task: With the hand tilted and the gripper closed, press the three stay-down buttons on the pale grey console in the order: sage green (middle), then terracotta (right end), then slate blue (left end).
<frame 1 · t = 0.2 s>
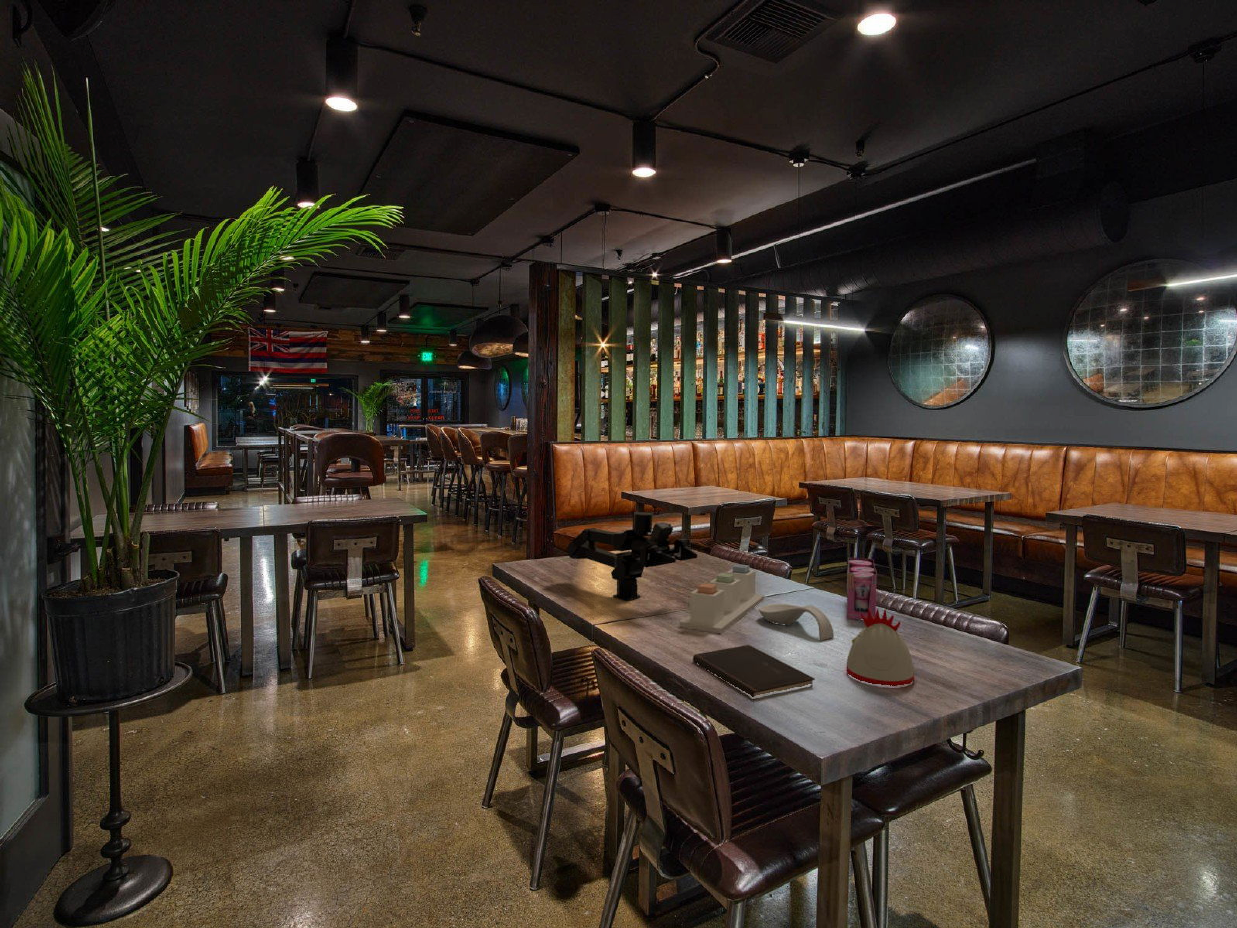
hand: (686, 558, 185), 17 cm above the table, tool horizontal, fingers open, 9 cm apart
button console: (724, 612, 189), on the table
slate blue button: (741, 572, 200), point 9 cm above the table, slide at 0.0 cm
sage green button: (725, 581, 188), point 9 cm above the table, slide at 0.0 cm
gum box: (860, 610, 192), on the table
terracotta button: (707, 592, 176), point 9 cm above the table, slide at 0.0 cm
hardcover book: (750, 676, 143), on the table
tan and red dome: (879, 676, 142), on the table
spoon rest: (795, 628, 176), on the table
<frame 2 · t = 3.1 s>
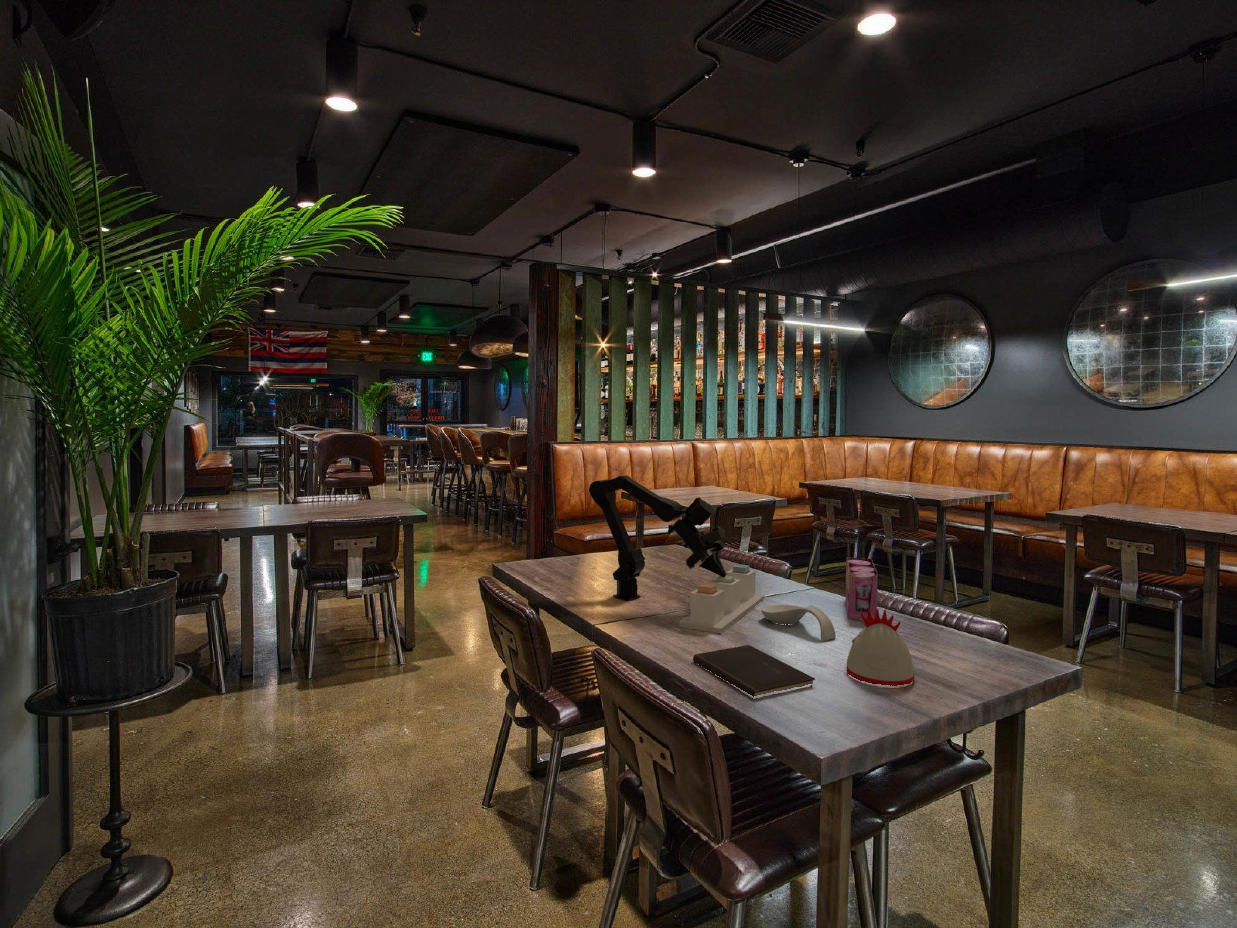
hand: (725, 576, 188), 11 cm above the table, tool tilted 45°, fingers closed, pressing on sage green button
sage green button: (725, 584, 188), point 9 cm above the table, slide at 0.7 cm, touching gripper
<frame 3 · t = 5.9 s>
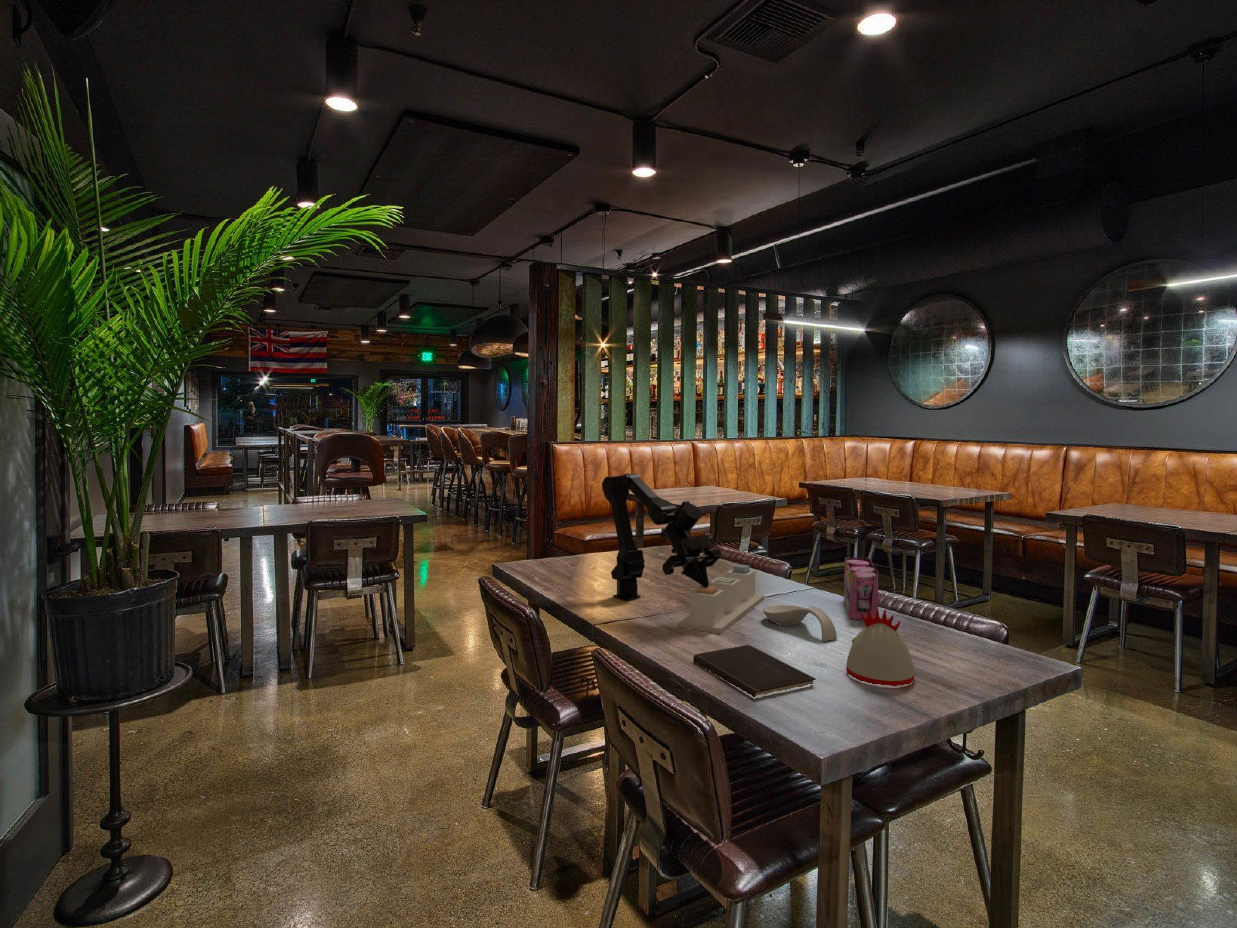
hand: (707, 586, 176), 11 cm above the table, tool tilted 45°, fingers closed, pressing on terracotta button
sage green button: (725, 586, 188), point 8 cm above the table, slide at 1.5 cm
terracotta button: (707, 594, 176), point 9 cm above the table, slide at 0.7 cm, touching gripper
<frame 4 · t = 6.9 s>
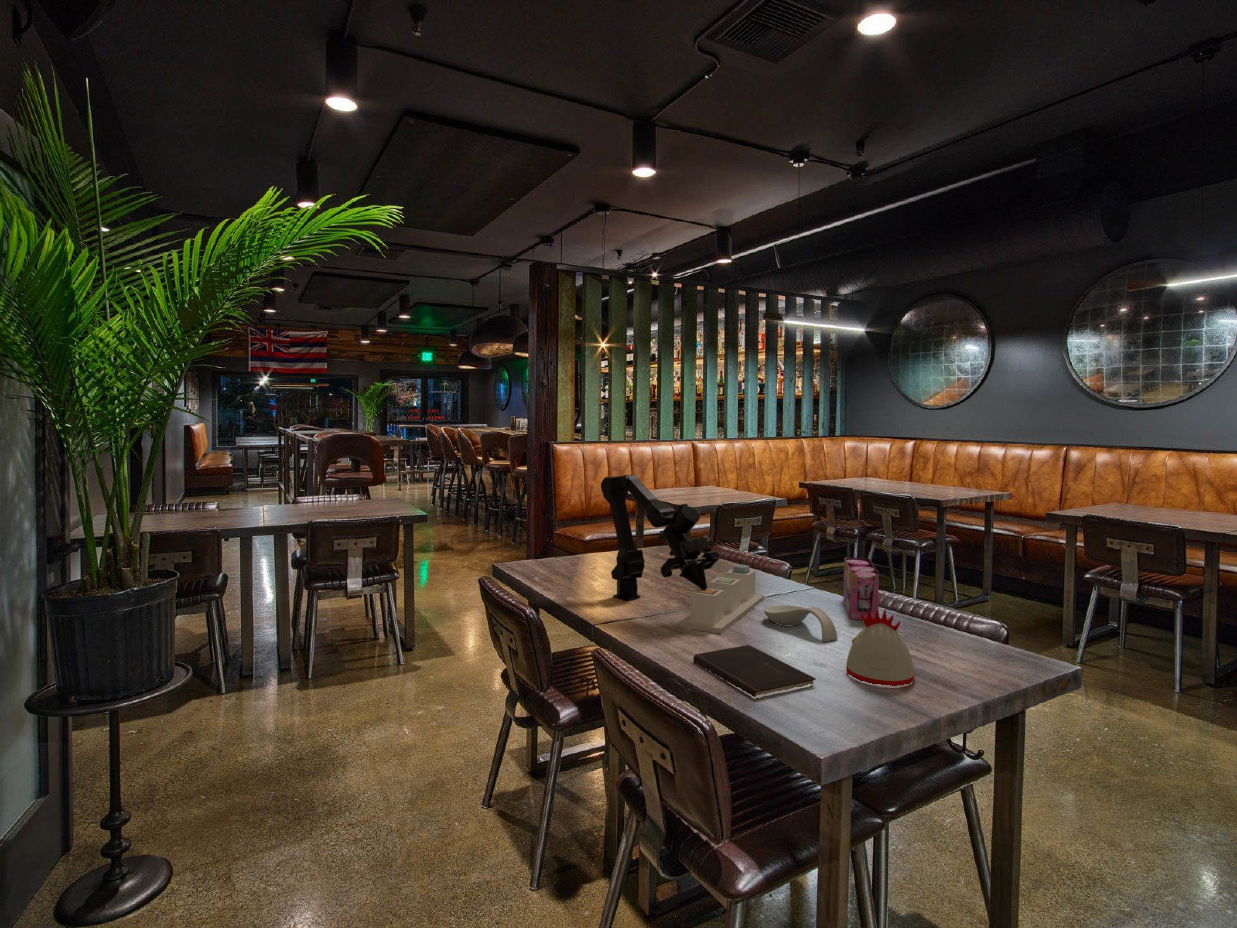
hand: (705, 588, 177), 10 cm above the table, tool tilted 45°, fingers closed
terracotta button: (707, 597, 176), point 8 cm above the table, slide at 1.5 cm
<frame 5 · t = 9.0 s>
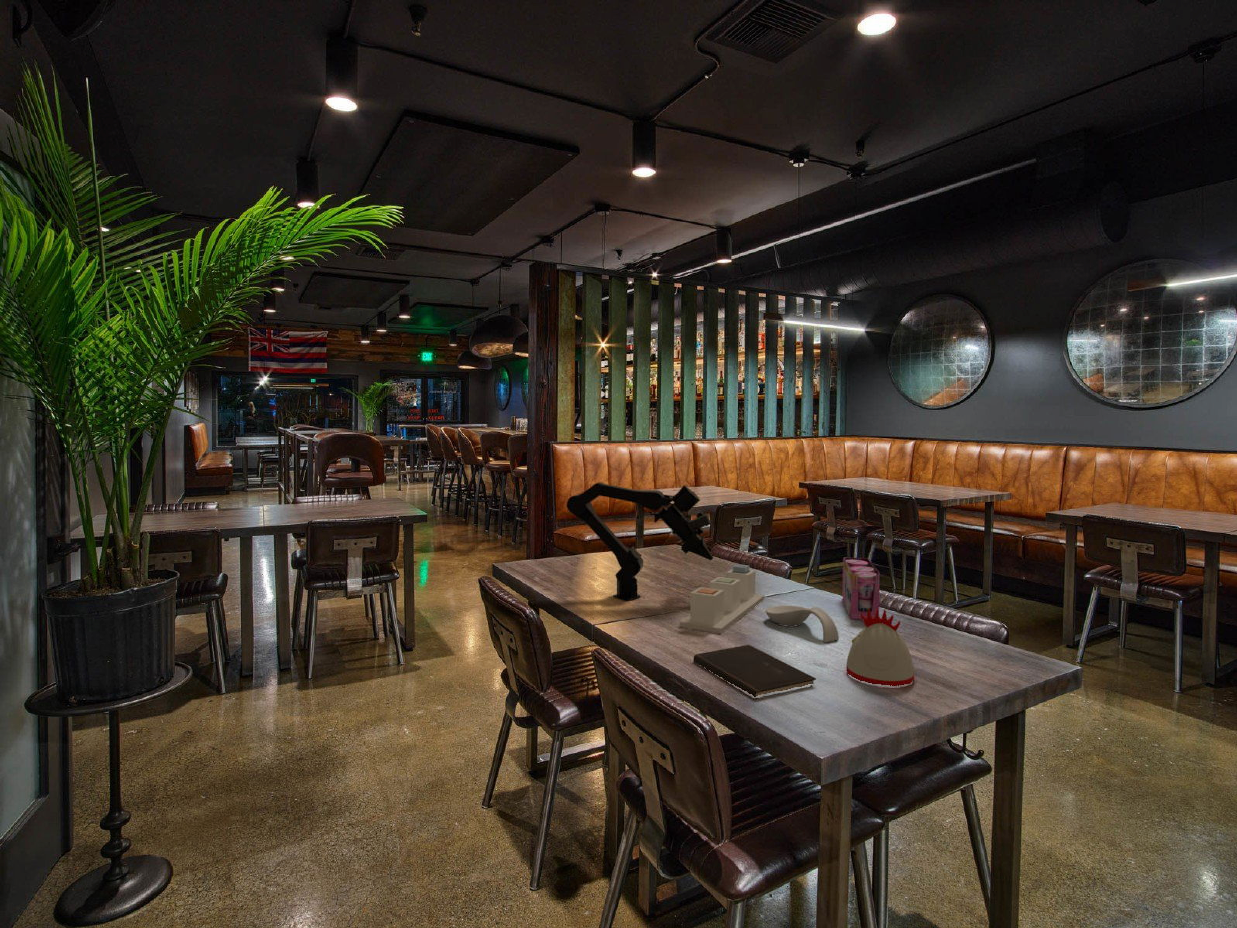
hand: (712, 559, 199), 14 cm above the table, tool tilted 45°, fingers closed
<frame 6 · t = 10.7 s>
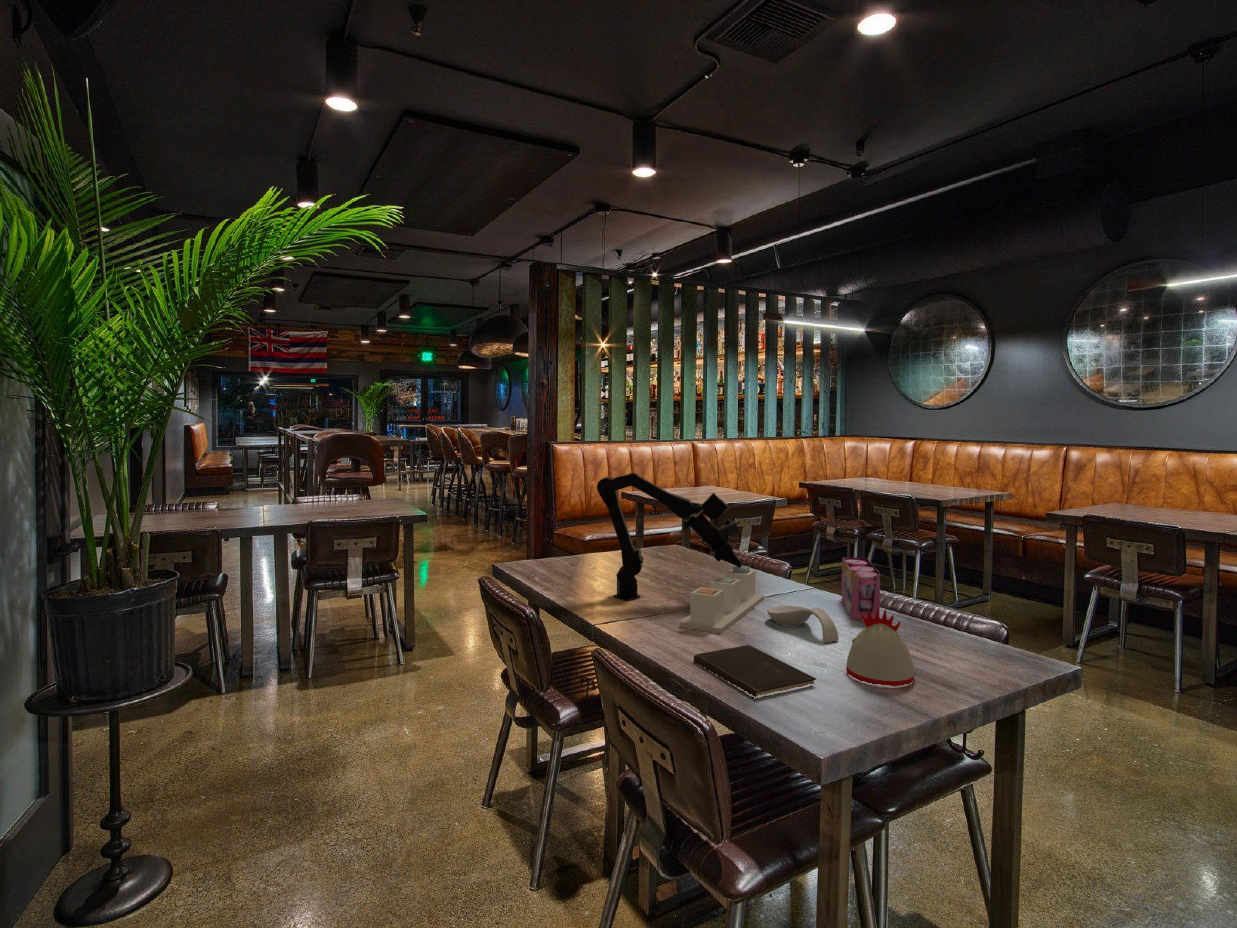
hand: (741, 566, 200), 11 cm above the table, tool tilted 45°, fingers closed, pressing on slate blue button
slate blue button: (741, 573, 200), point 9 cm above the table, slide at 0.4 cm, touching gripper
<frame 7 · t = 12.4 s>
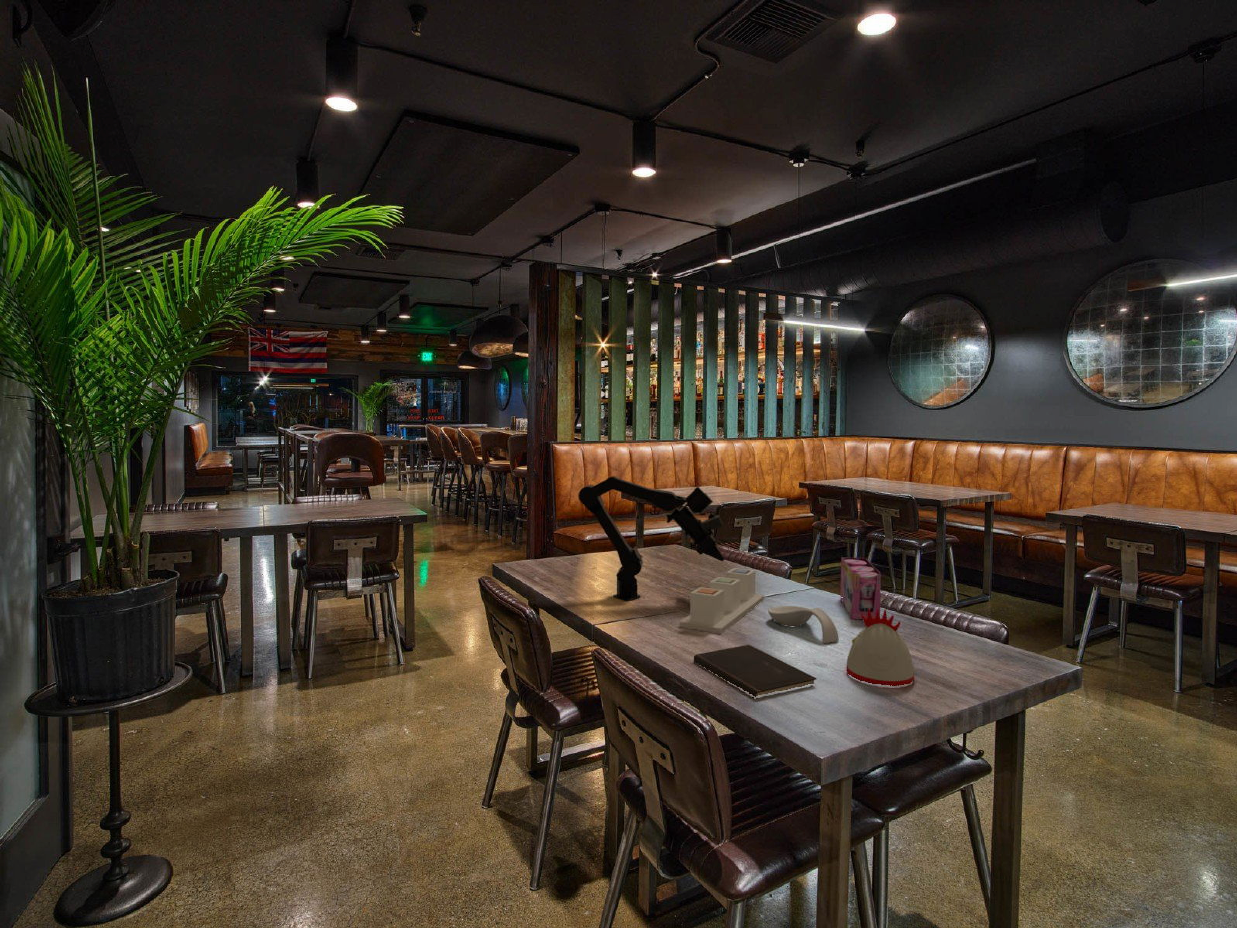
hand: (723, 560, 201), 13 cm above the table, tool tilted 45°, fingers closed
slate blue button: (740, 576, 201), point 8 cm above the table, slide at 1.5 cm
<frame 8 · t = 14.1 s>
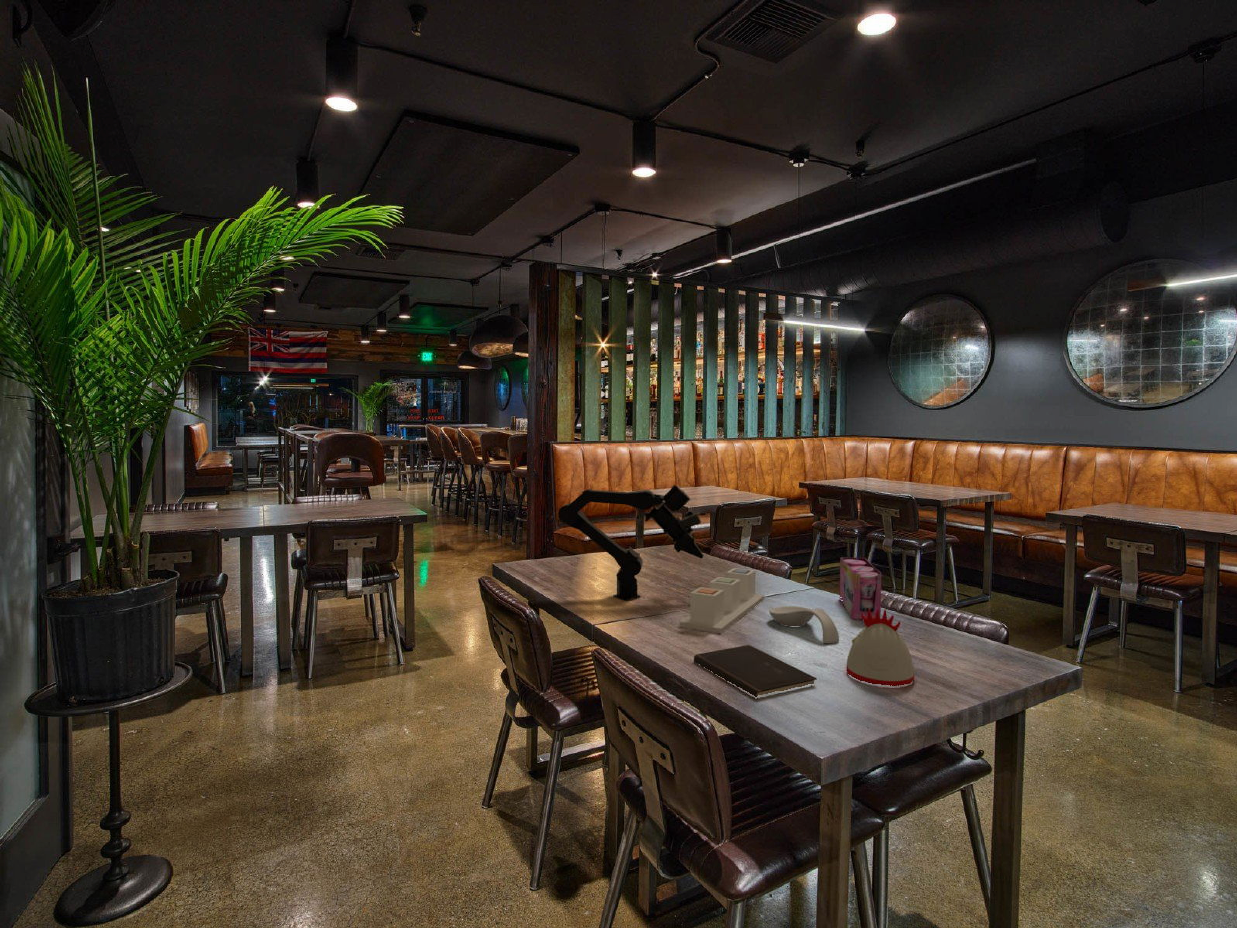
hand: (702, 557, 202), 14 cm above the table, tool tilted 45°, fingers closed
at the end: sage green button slide at 1.5 cm; terracotta button slide at 1.5 cm; slate blue button slide at 1.5 cm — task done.
